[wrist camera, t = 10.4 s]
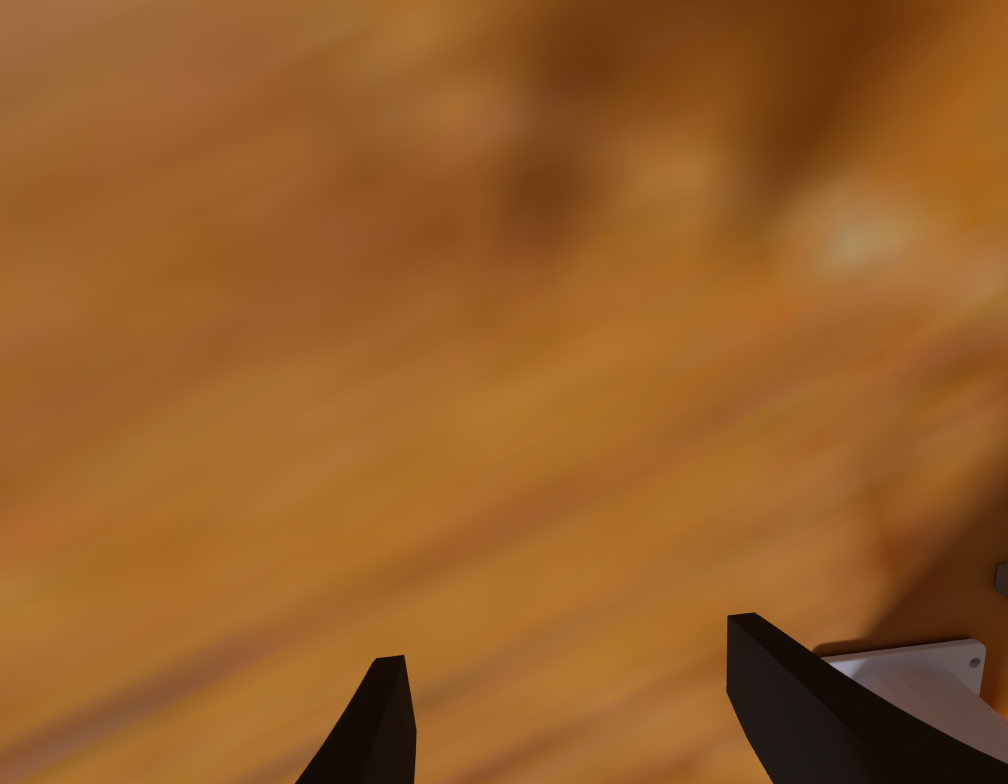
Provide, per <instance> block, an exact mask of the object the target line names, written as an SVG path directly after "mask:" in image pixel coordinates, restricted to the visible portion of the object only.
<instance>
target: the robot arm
mask: <svg viewBox="0 0 1008 784" xmlns="http://www.w3.org/2000/svg"><path fill="white" fill-rule="evenodd" d="M985 656H986V647H985V646H984V645H983V644H982V643H981V642H979V641H978V640H976V639H965V640H957V641H949V642H941V643H933V644H925V645H917V646H909V647H901V648H893V649H885V650H877V651H869V652H861V653H853V654H845V655H837V656H829V657H821V658H820V657H818V656H817V655H815V654H814V653H812V652H811V651H809V650H808V649H807V648H805V647H804V646H802V645H801V644H799V643H798V642H797V641H795V640H794V639H792V638H791V637H789V636H788V635H787V634H785V633H784V632H782V631H781V630H780V629H778V628H777V627H775V626H774V625H772V624H771V623H770V622H768V621H767V620H765V619H764V618H762V617H761V616H759V615H758V614H756V613H755V612H753V613H745V614H737V615H728V619H727V687H726V692H727V694H728V696H729V699H730V701H731V703H732V706H733V708H734V710H735V713H736V715H737V717H738V719H739V722H740V724H741V726H742V728H743V730H744V732H745V735H746V737H747V739H748V741H749V742H750V744H751V746H752V748H753V750H754V751H755V753H756V755H757V756H758V758H759V760H760V762H761V763H762V765H763V767H764V768H765V770H766V772H767V774H768V775H769V777H770V779H771V780H772V782H773V784H1008V722H1007V721H1006V720H1005V719H1004V718H1003V717H1001V716H1000V715H999V714H998V713H997V712H996V711H995V710H994V709H992V708H991V707H990V706H989V705H988V704H987V703H986V702H984V701H983V700H982V699H981V698H980V697H979V694H980V688H981V681H982V675H983V668H984V662H985ZM416 733H417V730H416V724H415V718H414V712H413V706H412V699H411V693H410V687H409V681H408V675H407V669H406V663H405V657H404V655H399V656H391V657H383V658H376V659H375V660H374V662H373V663H372V664H371V666H370V668H369V670H368V671H367V673H366V675H365V677H364V679H363V680H362V682H361V684H360V686H359V687H358V689H357V691H356V692H355V694H354V696H353V698H352V699H351V701H350V702H349V704H348V706H347V707H346V709H345V711H344V712H343V714H342V715H341V717H340V719H339V720H338V722H337V723H336V725H335V726H334V728H333V729H332V731H331V733H330V734H329V736H328V737H327V739H326V740H325V742H324V743H323V745H322V746H321V748H320V749H319V751H318V752H317V753H316V755H315V756H314V758H313V759H312V760H311V762H310V763H309V765H308V766H307V767H306V769H305V770H304V772H303V773H302V774H301V776H300V777H299V779H298V780H297V781H296V783H295V784H414V776H415V757H416Z"/></svg>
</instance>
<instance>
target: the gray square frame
mask: <svg viewBox="0 0 1008 784" xmlns="http://www.w3.org/2000/svg"><path fill="white" fill-rule="evenodd" d="M994 589H996V590H997V591H999V592H1000V593H1002V594H1003V595H1005V596H1006V597H1008V564H1001V565H998V568H997V574H996V581H995V587H994Z"/></svg>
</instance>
